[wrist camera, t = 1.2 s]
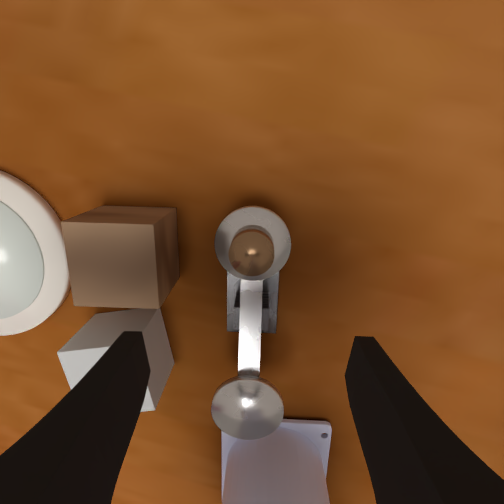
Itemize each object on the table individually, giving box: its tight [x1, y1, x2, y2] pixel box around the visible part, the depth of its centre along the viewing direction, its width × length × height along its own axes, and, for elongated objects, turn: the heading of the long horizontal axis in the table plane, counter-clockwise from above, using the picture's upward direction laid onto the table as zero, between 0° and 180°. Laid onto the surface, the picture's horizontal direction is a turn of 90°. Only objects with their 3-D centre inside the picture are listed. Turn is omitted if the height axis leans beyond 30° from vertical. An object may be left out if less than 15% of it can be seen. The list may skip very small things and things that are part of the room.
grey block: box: [57, 308, 174, 412], centre depth 21 cm, size 4×4×4 cm
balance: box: [211, 206, 291, 440], centre depth 20 cm, size 13×4×5 cm, turn 178°
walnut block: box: [61, 206, 180, 309], centre depth 19 cm, size 4×4×4 cm
